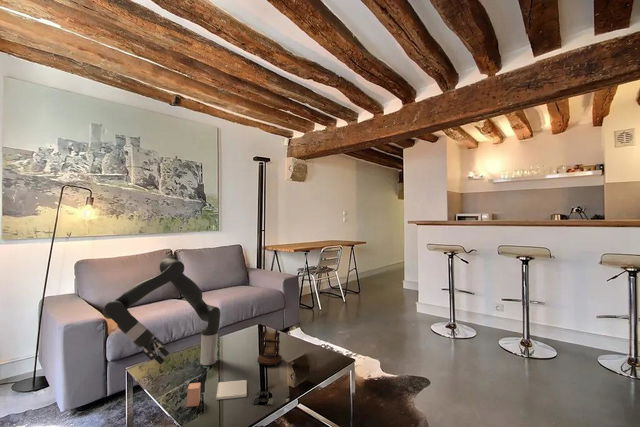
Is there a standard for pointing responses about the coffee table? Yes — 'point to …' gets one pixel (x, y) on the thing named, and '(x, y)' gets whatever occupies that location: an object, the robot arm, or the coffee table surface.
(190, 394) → the terracotta block
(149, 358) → the robot arm
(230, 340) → the coffee table surface
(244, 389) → the pad
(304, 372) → the coffee table surface
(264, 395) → the black chunky block
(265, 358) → the brown piece
